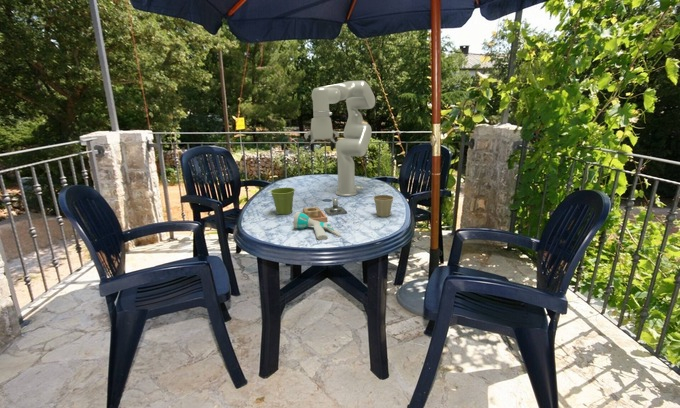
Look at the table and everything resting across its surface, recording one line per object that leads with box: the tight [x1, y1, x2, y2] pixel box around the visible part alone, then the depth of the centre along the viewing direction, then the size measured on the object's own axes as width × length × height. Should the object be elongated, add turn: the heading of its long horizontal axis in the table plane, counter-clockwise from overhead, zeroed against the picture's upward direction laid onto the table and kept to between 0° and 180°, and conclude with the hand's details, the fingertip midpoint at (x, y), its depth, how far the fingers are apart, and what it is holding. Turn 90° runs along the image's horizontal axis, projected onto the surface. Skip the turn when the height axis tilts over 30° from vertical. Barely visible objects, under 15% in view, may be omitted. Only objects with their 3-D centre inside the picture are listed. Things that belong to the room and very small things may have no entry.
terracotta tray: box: [300, 209, 328, 223], centre depth 159 cm, size 12×12×2 cm
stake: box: [323, 198, 348, 216], centre depth 169 cm, size 9×9×6 cm
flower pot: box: [373, 194, 395, 218], centre depth 162 cm, size 9×9×9 cm
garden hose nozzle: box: [292, 211, 342, 241], centre depth 145 cm, size 7×18×20 cm
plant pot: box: [270, 187, 296, 216], centre depth 168 cm, size 12×12×11 cm
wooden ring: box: [302, 206, 322, 218], centre depth 159 cm, size 7×7×4 cm
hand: (322, 151), depth 171 cm, fingers open, 9 cm apart
